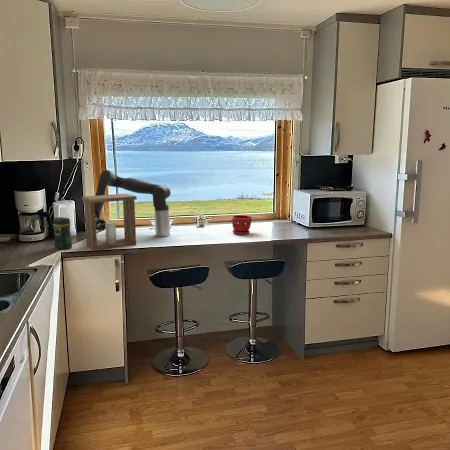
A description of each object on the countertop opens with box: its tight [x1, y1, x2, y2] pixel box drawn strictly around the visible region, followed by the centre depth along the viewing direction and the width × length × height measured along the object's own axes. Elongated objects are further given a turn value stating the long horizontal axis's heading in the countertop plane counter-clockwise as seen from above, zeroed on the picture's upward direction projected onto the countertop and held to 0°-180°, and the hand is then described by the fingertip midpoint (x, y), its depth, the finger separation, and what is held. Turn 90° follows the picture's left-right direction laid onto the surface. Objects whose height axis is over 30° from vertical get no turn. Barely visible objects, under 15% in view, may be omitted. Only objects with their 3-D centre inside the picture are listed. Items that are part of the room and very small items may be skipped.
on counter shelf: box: [81, 193, 138, 252], centre depth 260 cm, size 16×28×30 cm, turn 124°
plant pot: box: [231, 214, 252, 236], centre depth 295 cm, size 13×13×12 cm
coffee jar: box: [52, 216, 73, 250], centre depth 255 cm, size 10×8×19 cm
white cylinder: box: [105, 222, 117, 244], centre depth 262 cm, size 6×6×12 cm
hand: (107, 228), depth 267 cm, fingers open, 8 cm apart
